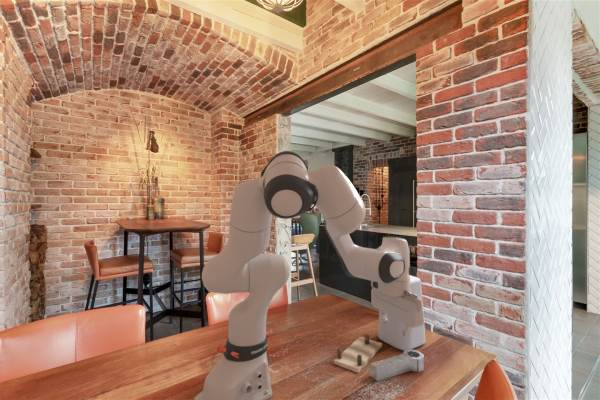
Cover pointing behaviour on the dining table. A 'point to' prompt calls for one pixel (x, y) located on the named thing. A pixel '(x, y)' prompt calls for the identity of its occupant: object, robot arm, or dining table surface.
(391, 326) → the plastic bottle
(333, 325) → the dining table surface
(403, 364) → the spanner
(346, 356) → the peg board
